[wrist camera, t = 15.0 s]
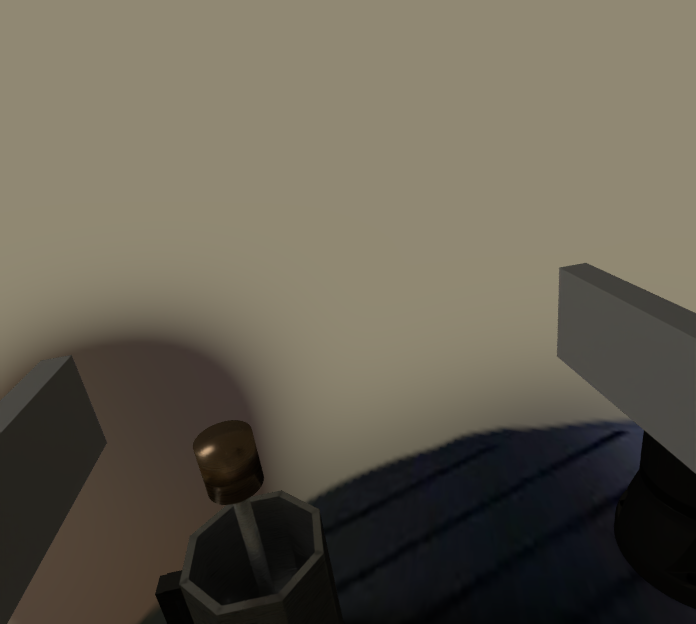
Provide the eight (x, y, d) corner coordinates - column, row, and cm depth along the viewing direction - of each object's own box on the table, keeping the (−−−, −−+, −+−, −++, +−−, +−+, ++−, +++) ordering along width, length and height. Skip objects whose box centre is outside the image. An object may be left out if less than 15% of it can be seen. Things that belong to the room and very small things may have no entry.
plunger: (326, 626, 46) (274, 400, 36) (334, 708, 39) (272, 460, 30) (253, 642, 45) (181, 418, 36) (249, 728, 39) (158, 483, 29)
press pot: (346, 613, 48) (318, 481, 42) (363, 741, 38) (330, 593, 32) (214, 643, 47) (166, 512, 41) (196, 781, 37) (128, 637, 31)
